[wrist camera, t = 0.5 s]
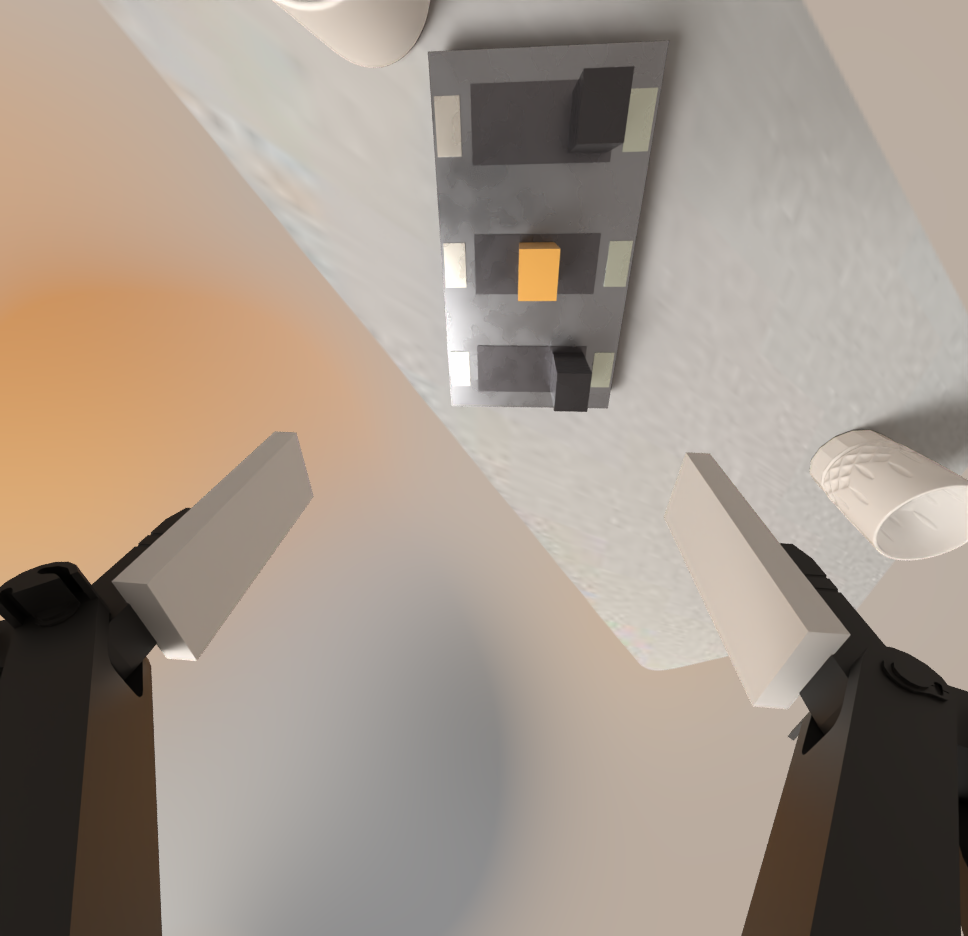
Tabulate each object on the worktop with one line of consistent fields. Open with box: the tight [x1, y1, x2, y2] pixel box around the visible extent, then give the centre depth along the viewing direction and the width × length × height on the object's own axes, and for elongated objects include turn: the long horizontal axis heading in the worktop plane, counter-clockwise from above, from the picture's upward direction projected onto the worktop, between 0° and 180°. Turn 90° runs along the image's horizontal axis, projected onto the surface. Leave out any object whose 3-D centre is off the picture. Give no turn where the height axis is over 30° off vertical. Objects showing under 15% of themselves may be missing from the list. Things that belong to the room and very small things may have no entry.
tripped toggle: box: [518, 242, 560, 301], centre depth 27 cm, size 3×2×5 cm
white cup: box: [810, 430, 968, 560], centre depth 36 cm, size 8×8×10 cm
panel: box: [428, 41, 669, 412], centre depth 29 cm, size 23×14×8 cm, turn 1°
